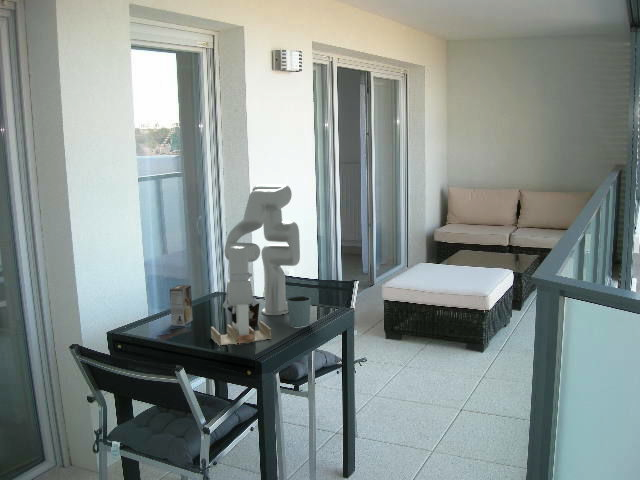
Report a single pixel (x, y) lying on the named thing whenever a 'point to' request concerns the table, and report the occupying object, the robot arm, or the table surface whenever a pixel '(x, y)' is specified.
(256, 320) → the coffee mug
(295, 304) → the grey plant pot
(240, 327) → the white rectangular block
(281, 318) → the table surface
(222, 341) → the divider rack
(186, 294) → the coffee box
